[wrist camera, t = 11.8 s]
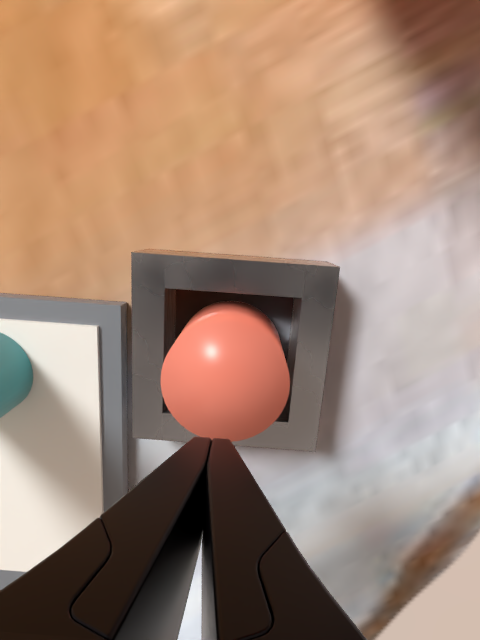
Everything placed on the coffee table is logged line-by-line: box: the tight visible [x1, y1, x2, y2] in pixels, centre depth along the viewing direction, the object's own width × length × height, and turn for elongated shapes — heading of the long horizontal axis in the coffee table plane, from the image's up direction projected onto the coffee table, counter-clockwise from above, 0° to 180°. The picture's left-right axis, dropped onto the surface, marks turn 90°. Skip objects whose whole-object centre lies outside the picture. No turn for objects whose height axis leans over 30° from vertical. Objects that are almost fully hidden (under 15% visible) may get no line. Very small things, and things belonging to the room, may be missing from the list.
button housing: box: [131, 249, 340, 452], centre depth 16 cm, size 8×8×2 cm
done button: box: [161, 301, 290, 442], centre depth 14 cm, size 4×4×4 cm
